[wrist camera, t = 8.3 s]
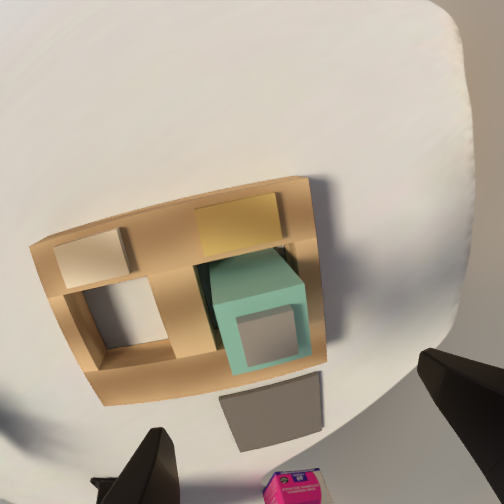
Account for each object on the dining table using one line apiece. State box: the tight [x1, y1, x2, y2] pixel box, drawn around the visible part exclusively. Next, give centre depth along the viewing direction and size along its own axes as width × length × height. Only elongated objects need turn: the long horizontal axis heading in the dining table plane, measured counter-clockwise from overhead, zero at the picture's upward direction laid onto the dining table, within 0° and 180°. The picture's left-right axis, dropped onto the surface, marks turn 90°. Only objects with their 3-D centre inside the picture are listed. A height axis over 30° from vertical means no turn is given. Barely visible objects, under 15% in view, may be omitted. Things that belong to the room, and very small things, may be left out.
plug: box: [209, 247, 312, 376], centre depth 16 cm, size 4×4×7 cm
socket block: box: [29, 176, 327, 406], centre depth 17 cm, size 12×16×3 cm
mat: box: [219, 372, 322, 452], centre depth 22 cm, size 8×8×1 cm
